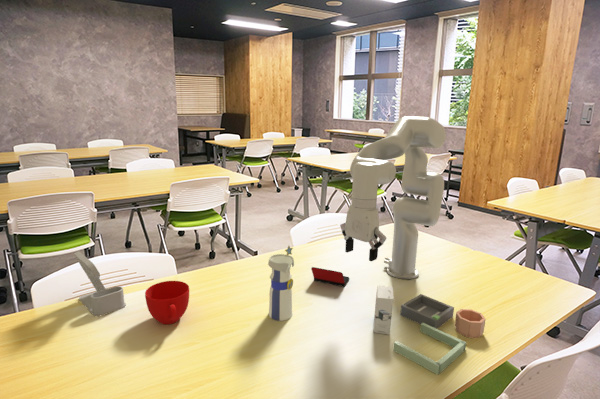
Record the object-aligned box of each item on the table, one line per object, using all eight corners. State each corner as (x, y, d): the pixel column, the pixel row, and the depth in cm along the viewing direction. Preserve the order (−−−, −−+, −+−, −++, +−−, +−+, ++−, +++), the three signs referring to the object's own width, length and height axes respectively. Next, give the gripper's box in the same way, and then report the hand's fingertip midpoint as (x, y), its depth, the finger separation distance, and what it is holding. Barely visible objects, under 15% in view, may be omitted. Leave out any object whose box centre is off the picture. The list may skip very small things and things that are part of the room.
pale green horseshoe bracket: (393, 350, 108) (394, 342, 107) (422, 329, 118) (423, 322, 117) (437, 374, 98) (438, 366, 98) (465, 350, 108) (466, 342, 108)
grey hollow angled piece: (127, 307, 128) (122, 256, 124) (95, 318, 121) (88, 265, 117) (108, 289, 140) (103, 242, 136) (77, 298, 133) (71, 249, 129)
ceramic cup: (152, 341, 110) (149, 310, 107) (145, 313, 124) (142, 285, 122) (197, 330, 115) (196, 300, 113) (186, 304, 130) (184, 277, 128)
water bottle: (298, 310, 127) (299, 239, 122) (286, 323, 120) (287, 248, 114) (276, 305, 131) (276, 235, 125) (263, 317, 123) (263, 243, 117)
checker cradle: (400, 315, 126) (401, 303, 125) (419, 303, 134) (420, 292, 133) (435, 331, 117) (436, 319, 116) (453, 317, 125) (455, 306, 124)
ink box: (374, 318, 124) (376, 284, 121) (390, 320, 123) (392, 286, 120) (373, 333, 116) (376, 297, 113) (390, 335, 115) (393, 299, 112)
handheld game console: (350, 279, 152) (350, 262, 150) (341, 291, 142) (342, 272, 140) (320, 273, 156) (320, 256, 155) (310, 284, 147) (310, 266, 145)
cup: (450, 330, 118) (452, 314, 117) (462, 321, 123) (464, 306, 122) (475, 341, 112) (477, 325, 111) (486, 331, 117) (488, 316, 116)
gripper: (334, 199, 121) (332, 250, 125) (380, 210, 109) (376, 267, 113) (350, 196, 126) (347, 245, 130) (395, 206, 114) (390, 260, 118)
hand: (360, 255), depth 122 cm, fingers open, 9 cm apart
